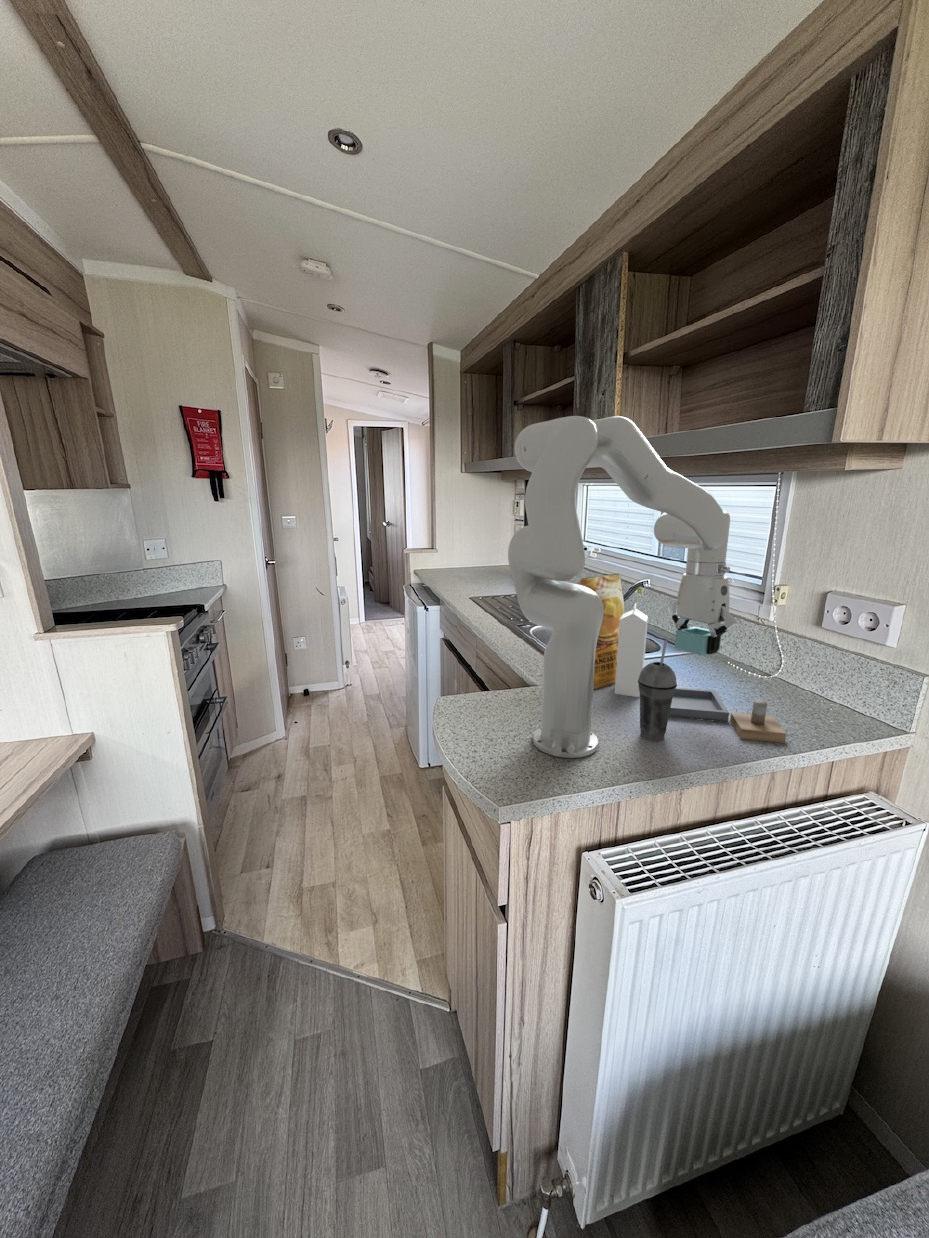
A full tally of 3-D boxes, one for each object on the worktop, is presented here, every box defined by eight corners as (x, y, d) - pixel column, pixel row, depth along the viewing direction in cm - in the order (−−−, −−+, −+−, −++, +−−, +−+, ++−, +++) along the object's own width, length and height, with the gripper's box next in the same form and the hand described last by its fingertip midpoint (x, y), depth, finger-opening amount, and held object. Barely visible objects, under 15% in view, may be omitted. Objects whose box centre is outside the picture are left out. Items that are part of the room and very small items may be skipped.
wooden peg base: (784, 742, 100) (789, 712, 98) (740, 738, 101) (744, 708, 100) (771, 725, 107) (775, 696, 106) (729, 721, 109) (733, 693, 107)
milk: (614, 694, 124) (619, 606, 119) (617, 685, 130) (622, 601, 124) (640, 697, 122) (647, 608, 117) (642, 689, 127) (649, 603, 122)
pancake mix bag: (563, 685, 130) (568, 577, 123) (613, 671, 140) (620, 571, 133) (583, 694, 124) (589, 581, 118) (633, 678, 135) (641, 574, 128)
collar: (725, 648, 113) (727, 631, 112) (701, 655, 109) (703, 637, 108) (698, 641, 118) (700, 624, 118) (674, 647, 114) (676, 630, 113)
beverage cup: (625, 731, 104) (633, 638, 100) (654, 725, 107) (662, 634, 102) (650, 747, 98) (659, 648, 93) (679, 741, 100) (690, 644, 96)
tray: (727, 722, 109) (729, 712, 108) (663, 716, 112) (664, 707, 111) (713, 699, 121) (715, 690, 120) (656, 694, 124) (657, 685, 123)
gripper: (755, 572, 103) (744, 656, 108) (680, 563, 118) (674, 637, 122) (733, 576, 100) (723, 662, 104) (659, 566, 114) (653, 642, 118)
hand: (696, 648), depth 113 cm, fingers closed on collar, 6 cm apart
